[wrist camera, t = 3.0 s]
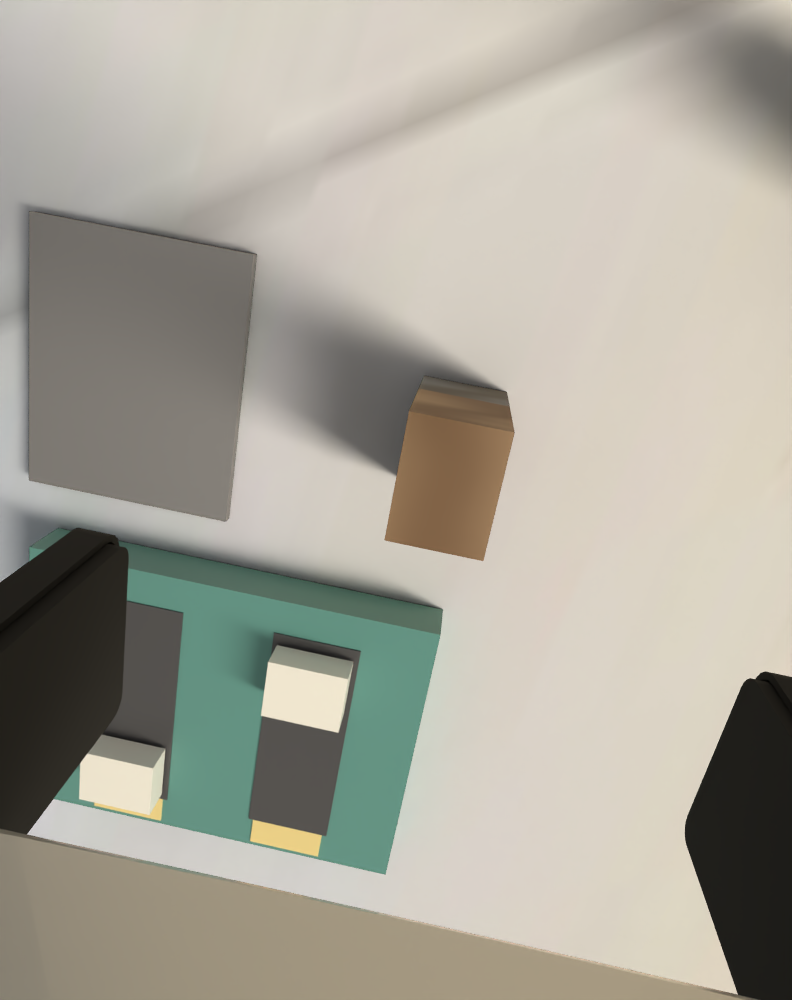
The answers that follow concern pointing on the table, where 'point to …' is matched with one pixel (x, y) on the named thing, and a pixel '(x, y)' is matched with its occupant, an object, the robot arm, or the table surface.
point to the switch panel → (239, 697)
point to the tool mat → (136, 363)
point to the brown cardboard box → (451, 468)
